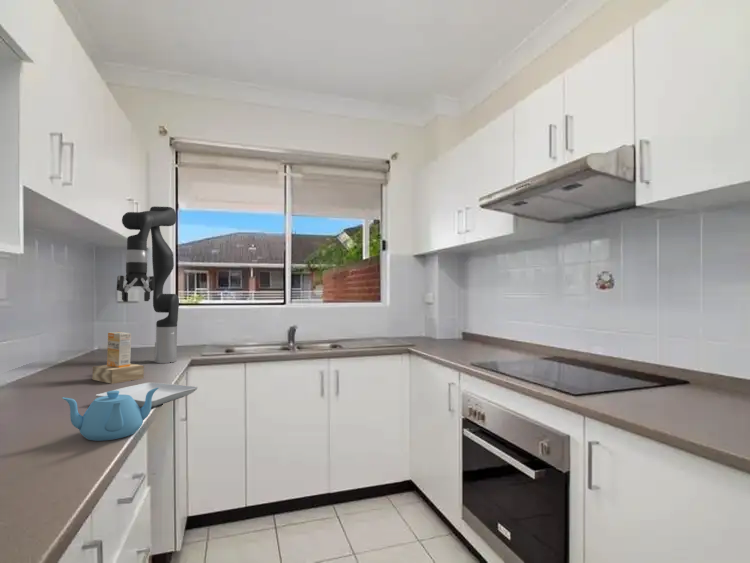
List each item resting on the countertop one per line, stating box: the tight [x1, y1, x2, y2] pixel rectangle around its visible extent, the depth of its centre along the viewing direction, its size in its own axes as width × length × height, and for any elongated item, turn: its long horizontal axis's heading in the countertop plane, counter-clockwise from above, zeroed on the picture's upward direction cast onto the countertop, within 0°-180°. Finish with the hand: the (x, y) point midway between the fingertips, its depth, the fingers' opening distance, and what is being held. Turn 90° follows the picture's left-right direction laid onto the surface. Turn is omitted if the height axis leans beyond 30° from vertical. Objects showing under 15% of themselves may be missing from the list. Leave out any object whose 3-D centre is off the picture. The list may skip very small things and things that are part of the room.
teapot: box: [61, 387, 159, 442], centre depth 103 cm, size 15×15×10 cm
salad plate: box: [95, 382, 198, 408], centre depth 136 cm, size 21×21×3 cm
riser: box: [91, 363, 145, 385], centre depth 167 cm, size 14×12×5 cm
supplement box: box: [106, 331, 132, 368], centre depth 168 cm, size 8×5×13 cm, turn 61°
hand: (136, 301), depth 174 cm, fingers open, 8 cm apart
